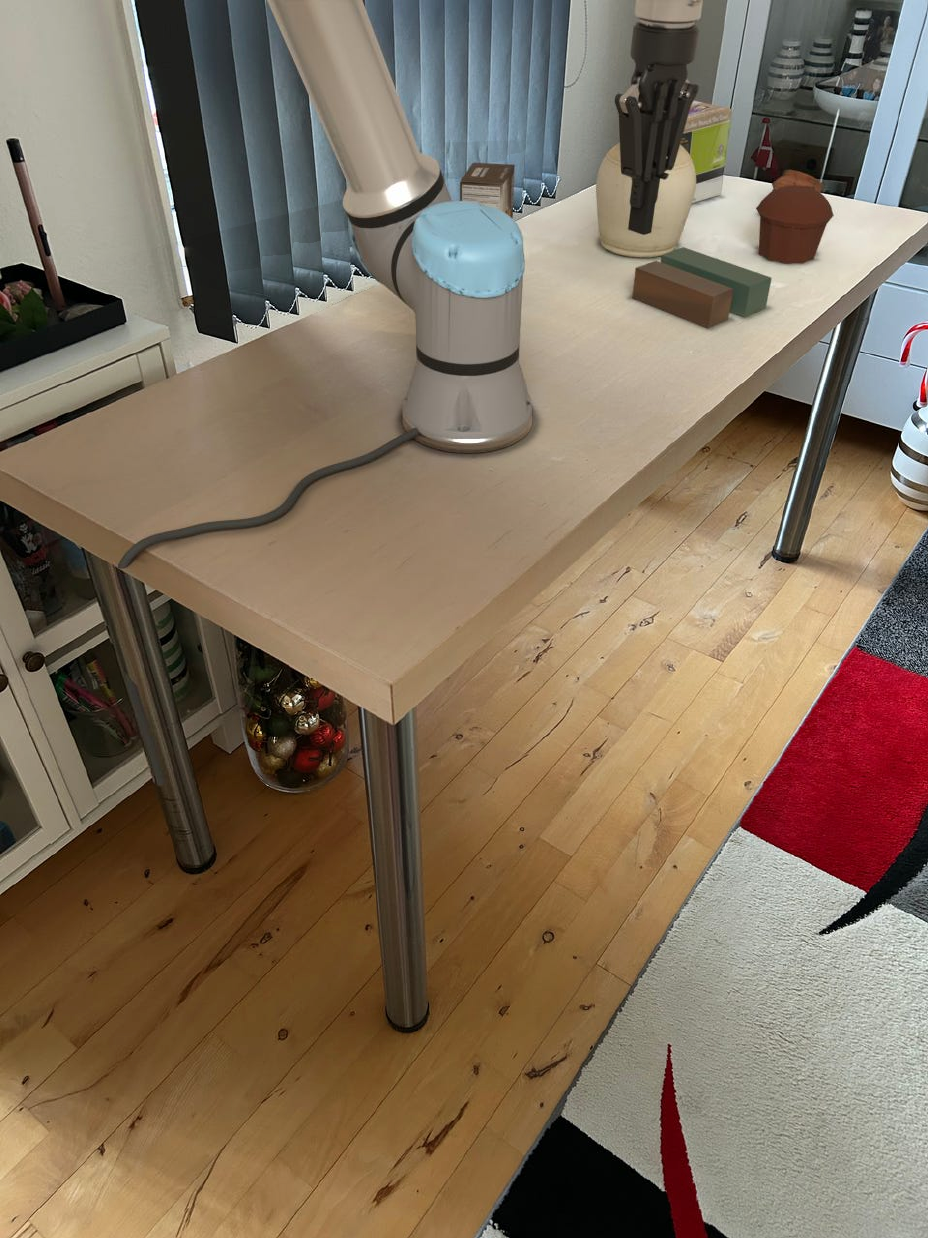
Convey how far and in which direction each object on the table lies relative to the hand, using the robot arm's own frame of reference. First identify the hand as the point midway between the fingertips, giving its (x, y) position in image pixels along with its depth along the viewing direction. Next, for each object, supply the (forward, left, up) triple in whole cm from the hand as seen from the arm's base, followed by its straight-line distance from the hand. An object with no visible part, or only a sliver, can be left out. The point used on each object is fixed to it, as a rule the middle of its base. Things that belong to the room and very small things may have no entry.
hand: (639, 230), depth 130 cm
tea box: (+49, +33, -14) cm, 60 cm away
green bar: (+18, 0, -13) cm, 22 cm away
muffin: (+41, +3, -14) cm, 43 cm away
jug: (+26, +21, -14) cm, 36 cm away
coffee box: (-4, +25, -14) cm, 29 cm away
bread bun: (+57, +13, -14) cm, 60 cm away
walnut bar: (+11, 0, -13) cm, 17 cm away
